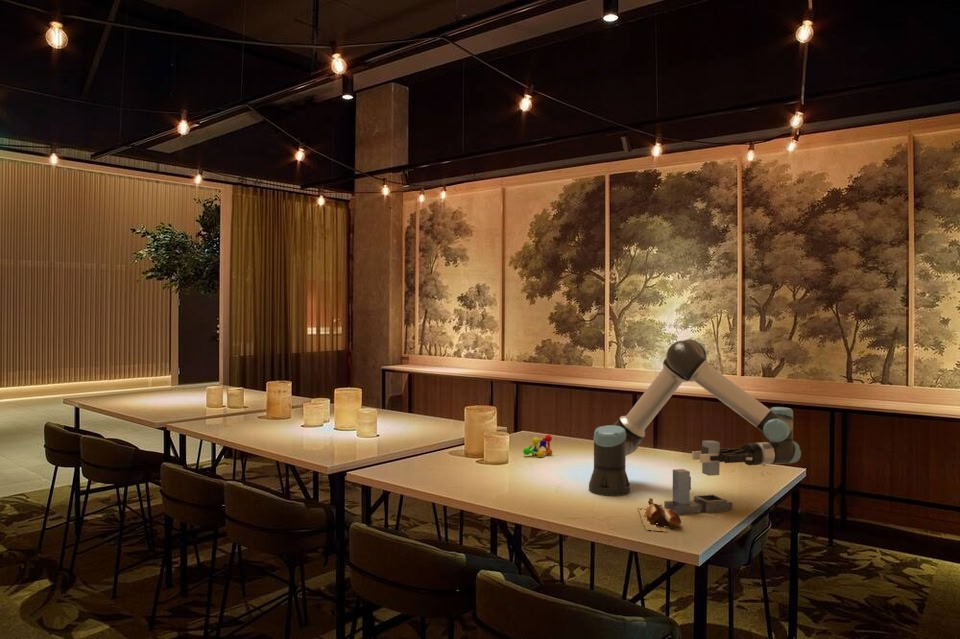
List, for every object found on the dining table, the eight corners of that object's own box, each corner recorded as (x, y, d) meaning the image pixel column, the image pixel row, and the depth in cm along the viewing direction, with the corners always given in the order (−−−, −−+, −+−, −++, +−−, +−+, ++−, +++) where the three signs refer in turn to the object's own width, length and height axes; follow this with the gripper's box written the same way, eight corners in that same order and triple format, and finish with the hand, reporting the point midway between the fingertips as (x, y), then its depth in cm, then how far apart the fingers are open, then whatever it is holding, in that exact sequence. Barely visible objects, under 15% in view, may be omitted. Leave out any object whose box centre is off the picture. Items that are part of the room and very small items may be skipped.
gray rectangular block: (707, 475, 229) (707, 442, 229) (700, 473, 233) (700, 440, 233) (719, 475, 230) (719, 442, 230) (712, 472, 234) (712, 440, 234)
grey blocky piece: (676, 514, 224) (676, 473, 224) (664, 508, 231) (664, 468, 231) (735, 510, 229) (735, 470, 229) (721, 504, 237) (722, 465, 237)
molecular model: (525, 462, 321) (546, 441, 327) (540, 470, 313) (561, 448, 320) (517, 446, 315) (538, 425, 321) (532, 454, 307) (553, 432, 314)
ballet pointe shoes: (645, 514, 205) (632, 490, 233) (646, 536, 205) (632, 509, 233) (692, 514, 204) (673, 490, 232) (692, 536, 204) (673, 510, 232)
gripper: (773, 470, 228) (711, 473, 222) (741, 459, 244) (682, 462, 238) (773, 447, 228) (711, 450, 222) (741, 438, 244) (683, 441, 238)
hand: (696, 456), depth 230 cm, fingers closed on gray rectangular block, 4 cm apart
